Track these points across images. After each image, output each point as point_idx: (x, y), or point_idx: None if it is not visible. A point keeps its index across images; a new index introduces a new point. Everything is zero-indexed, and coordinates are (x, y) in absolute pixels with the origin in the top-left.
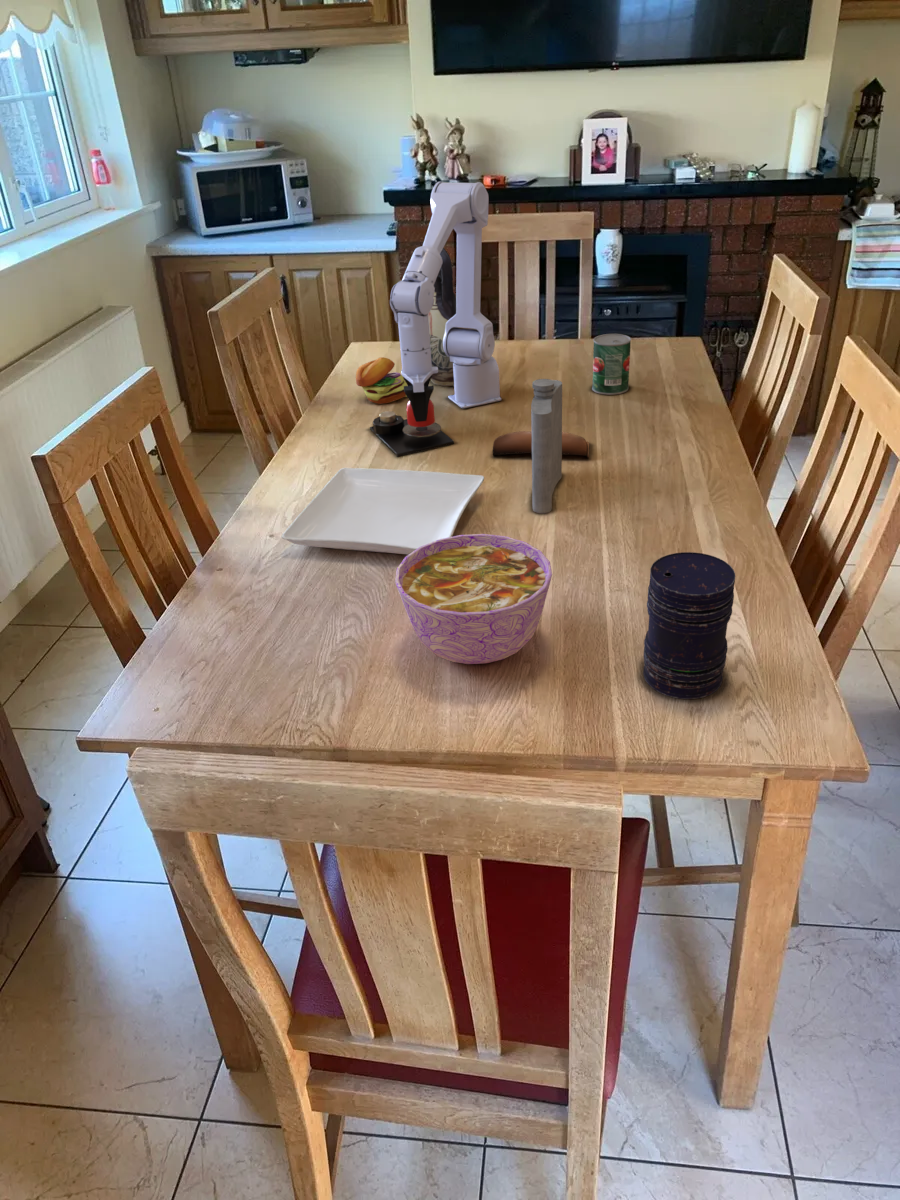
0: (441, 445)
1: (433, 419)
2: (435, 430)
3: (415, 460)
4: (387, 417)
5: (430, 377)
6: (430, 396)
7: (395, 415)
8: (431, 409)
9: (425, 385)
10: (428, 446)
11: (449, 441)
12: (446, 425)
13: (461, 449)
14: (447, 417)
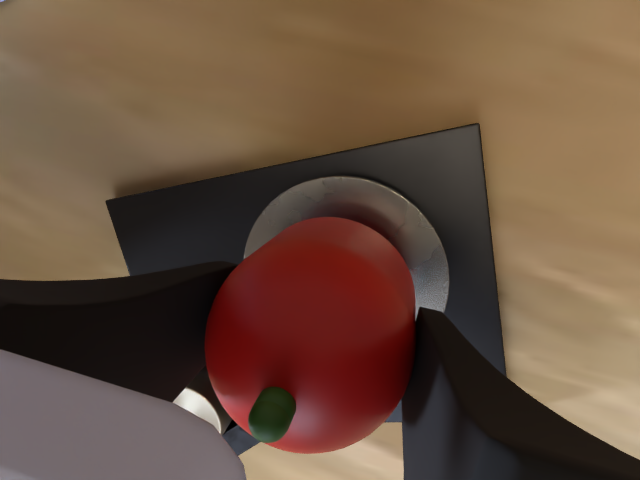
0: (487, 199)
1: (376, 239)
2: (398, 219)
3: (594, 355)
4: (223, 430)
5: (29, 316)
6: (602, 442)
7: (196, 384)
8: (385, 278)
9: (116, 332)
10: (489, 270)
11: (472, 149)
12: (217, 111)
13: (575, 97)
14: (123, 86)
